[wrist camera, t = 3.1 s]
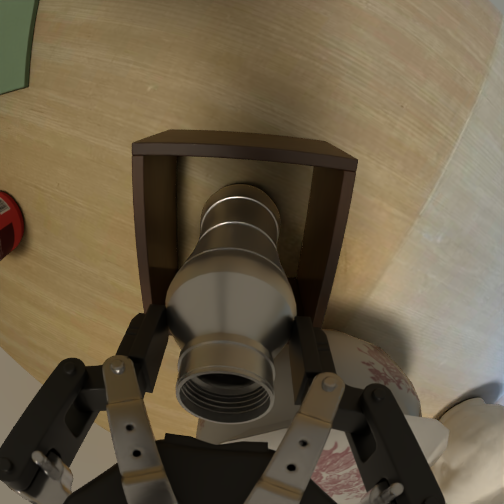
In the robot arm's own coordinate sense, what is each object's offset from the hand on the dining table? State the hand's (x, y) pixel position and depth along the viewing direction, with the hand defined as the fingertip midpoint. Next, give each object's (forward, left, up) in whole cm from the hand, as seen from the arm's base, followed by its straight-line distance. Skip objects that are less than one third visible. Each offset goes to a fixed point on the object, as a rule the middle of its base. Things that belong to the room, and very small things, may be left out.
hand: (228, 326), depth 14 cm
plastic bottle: (0, 0, -16) cm, 16 cm away
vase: (+37, +47, -16) cm, 62 cm away
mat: (-20, -30, -16) cm, 39 cm away
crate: (0, 0, -16) cm, 16 cm away
